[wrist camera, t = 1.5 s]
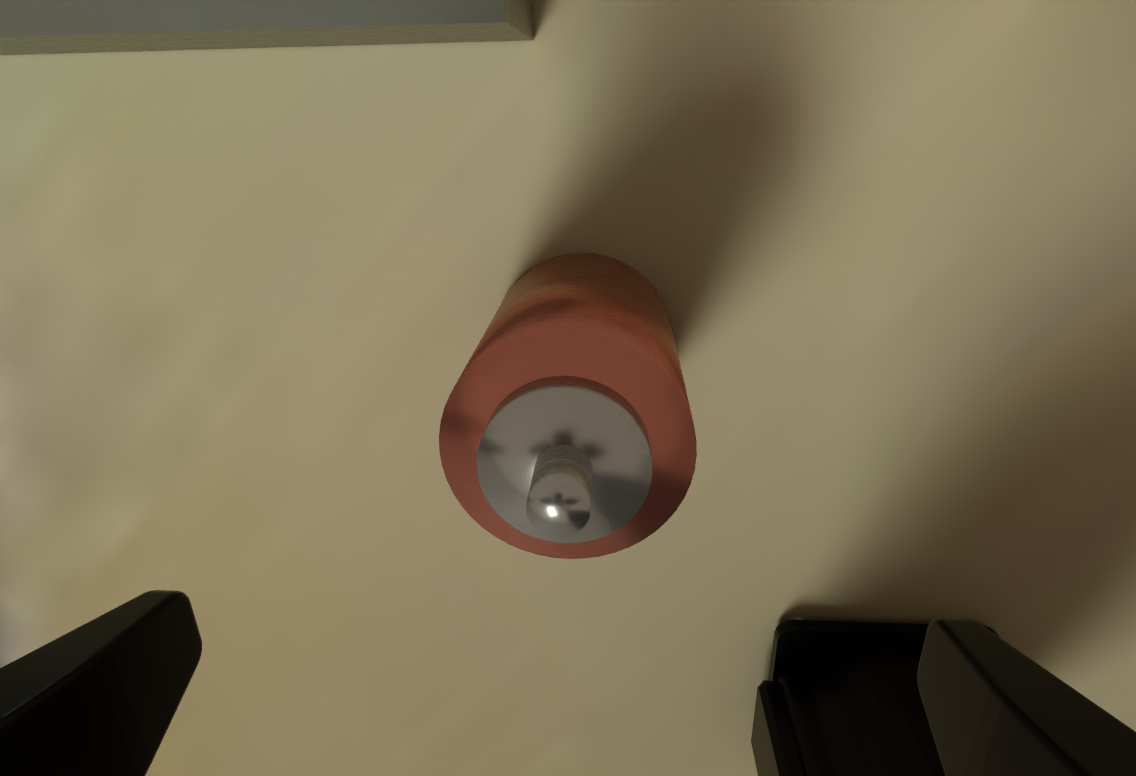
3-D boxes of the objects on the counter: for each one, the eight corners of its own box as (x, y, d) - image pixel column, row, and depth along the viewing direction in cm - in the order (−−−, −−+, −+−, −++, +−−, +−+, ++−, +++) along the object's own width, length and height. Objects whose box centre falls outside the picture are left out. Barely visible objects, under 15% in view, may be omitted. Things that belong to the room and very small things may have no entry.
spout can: (675, 252, 17) (718, 372, 9) (668, 421, 18) (699, 630, 11) (489, 253, 17) (393, 370, 10) (500, 420, 19) (426, 621, 12)
